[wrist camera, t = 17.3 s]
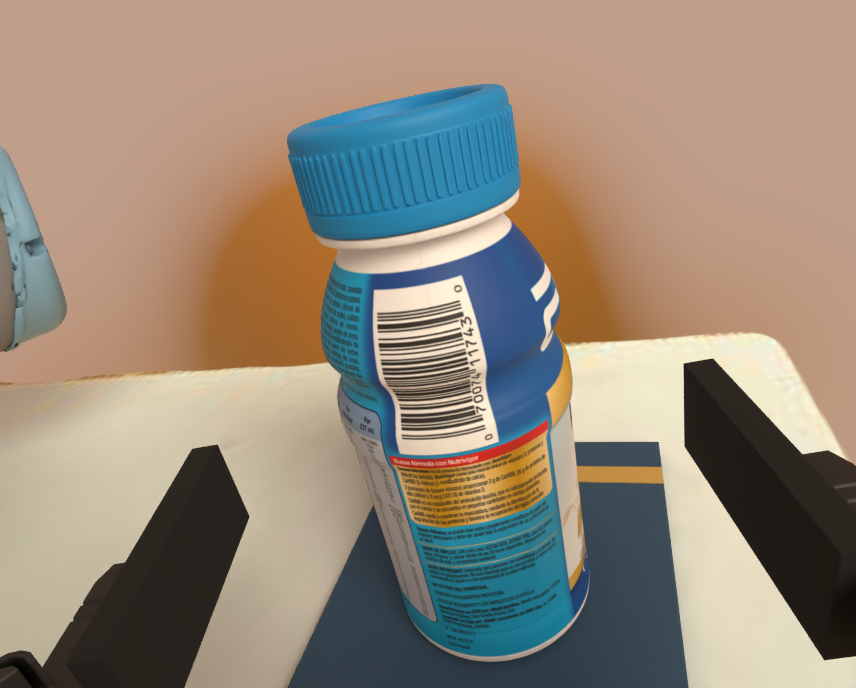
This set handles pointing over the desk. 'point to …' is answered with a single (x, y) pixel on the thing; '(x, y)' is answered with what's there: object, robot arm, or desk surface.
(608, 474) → the tea towel
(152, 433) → the desk surface
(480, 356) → the beverage bottle
